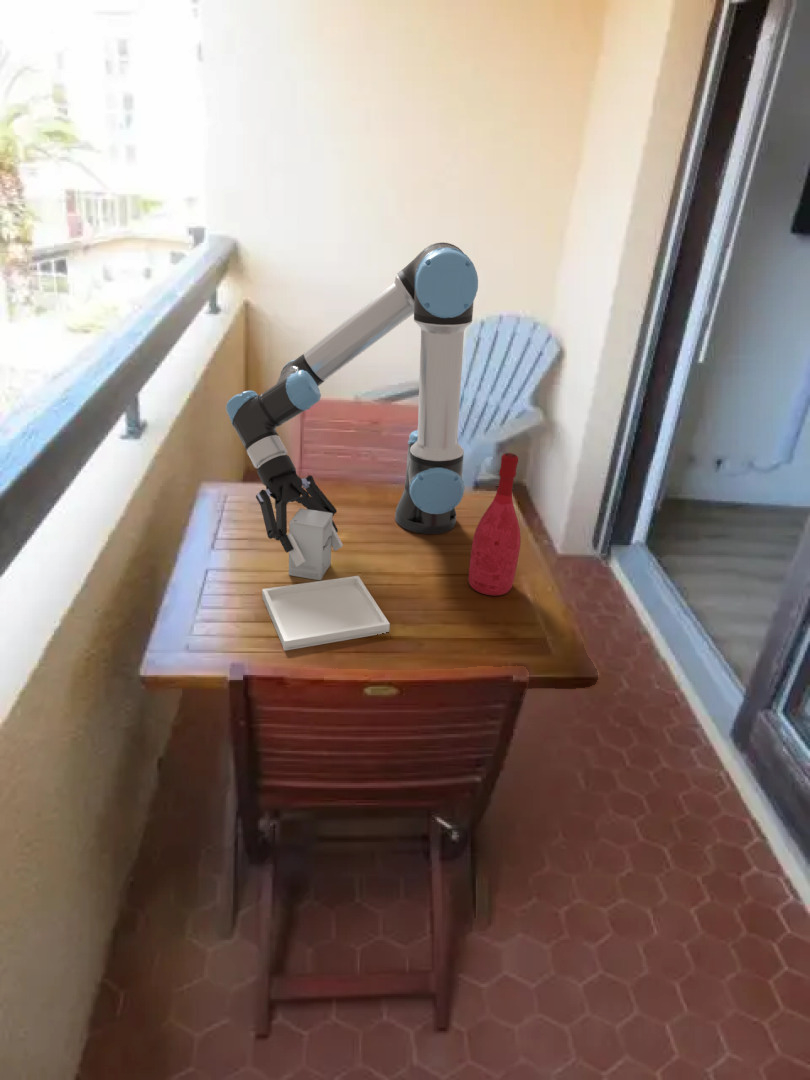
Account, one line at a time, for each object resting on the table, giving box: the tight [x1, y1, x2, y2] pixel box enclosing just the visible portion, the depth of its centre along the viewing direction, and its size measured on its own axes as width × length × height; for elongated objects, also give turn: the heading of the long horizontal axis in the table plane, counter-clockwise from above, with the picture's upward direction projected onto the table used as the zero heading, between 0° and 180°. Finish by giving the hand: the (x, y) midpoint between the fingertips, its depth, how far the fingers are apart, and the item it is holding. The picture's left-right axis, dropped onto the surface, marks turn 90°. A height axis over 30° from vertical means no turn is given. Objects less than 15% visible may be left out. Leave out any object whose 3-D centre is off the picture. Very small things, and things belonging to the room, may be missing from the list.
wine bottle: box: [468, 452, 522, 596], centre depth 146 cm, size 10×10×30 cm
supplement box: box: [288, 507, 334, 581], centre depth 150 cm, size 7×7×13 cm
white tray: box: [261, 575, 391, 651], centre depth 138 cm, size 20×18×2 cm
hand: (320, 556), depth 149 cm, fingers closed on supplement box, 10 cm apart
